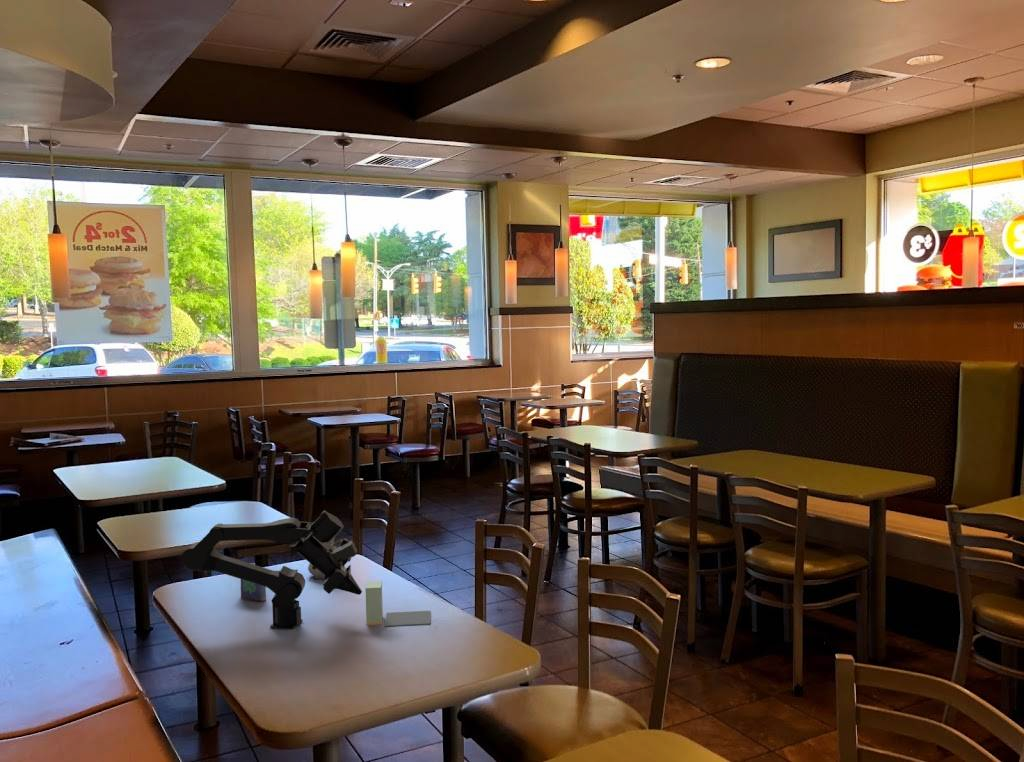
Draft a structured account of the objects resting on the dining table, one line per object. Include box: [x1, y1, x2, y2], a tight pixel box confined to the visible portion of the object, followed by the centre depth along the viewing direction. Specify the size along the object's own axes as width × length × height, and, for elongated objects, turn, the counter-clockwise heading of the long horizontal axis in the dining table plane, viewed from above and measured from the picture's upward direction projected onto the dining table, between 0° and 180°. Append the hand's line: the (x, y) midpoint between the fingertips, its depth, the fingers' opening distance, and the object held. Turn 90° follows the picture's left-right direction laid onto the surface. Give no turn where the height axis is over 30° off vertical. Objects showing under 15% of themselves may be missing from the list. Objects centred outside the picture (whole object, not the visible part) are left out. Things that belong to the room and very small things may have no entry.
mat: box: [384, 610, 431, 627], centre depth 232 cm, size 12×10×1 cm
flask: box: [240, 562, 267, 603], centre depth 250 cm, size 9×3×11 cm, turn 61°
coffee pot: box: [307, 535, 346, 580], centre depth 268 cm, size 21×12×15 cm, turn 34°
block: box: [364, 580, 384, 626], centre depth 231 cm, size 4×6×10 cm, turn 6°
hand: (360, 593), depth 230 cm, fingers closed
